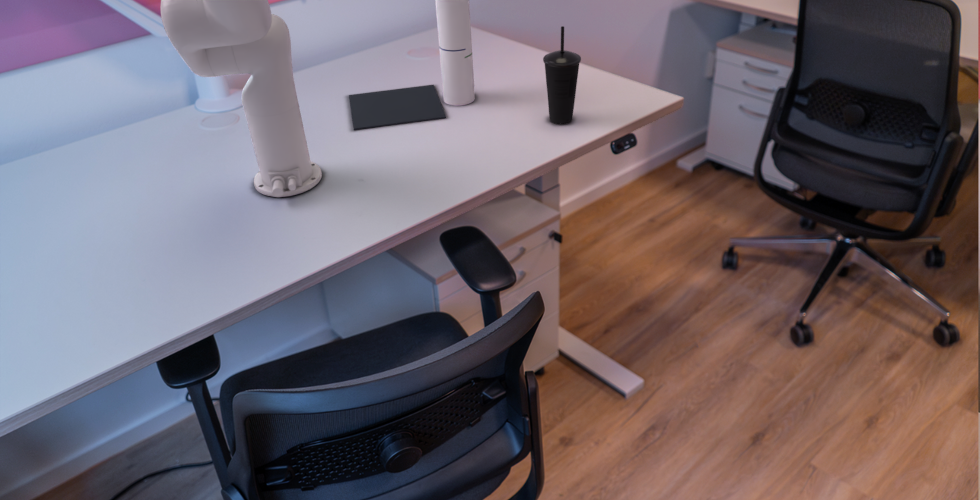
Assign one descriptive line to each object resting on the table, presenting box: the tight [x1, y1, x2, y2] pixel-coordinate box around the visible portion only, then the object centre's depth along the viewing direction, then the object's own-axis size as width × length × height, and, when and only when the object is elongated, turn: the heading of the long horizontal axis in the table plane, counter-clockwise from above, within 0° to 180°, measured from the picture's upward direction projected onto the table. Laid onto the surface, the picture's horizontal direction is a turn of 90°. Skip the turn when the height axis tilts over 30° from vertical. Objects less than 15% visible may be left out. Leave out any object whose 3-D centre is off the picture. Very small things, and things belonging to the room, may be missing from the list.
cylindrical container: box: [434, 0, 476, 107], centre depth 159 cm, size 7×7×25 cm
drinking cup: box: [542, 25, 582, 126], centre depth 149 cm, size 8×8×20 cm
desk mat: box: [348, 84, 447, 131], centre depth 164 cm, size 18×20×1 cm
